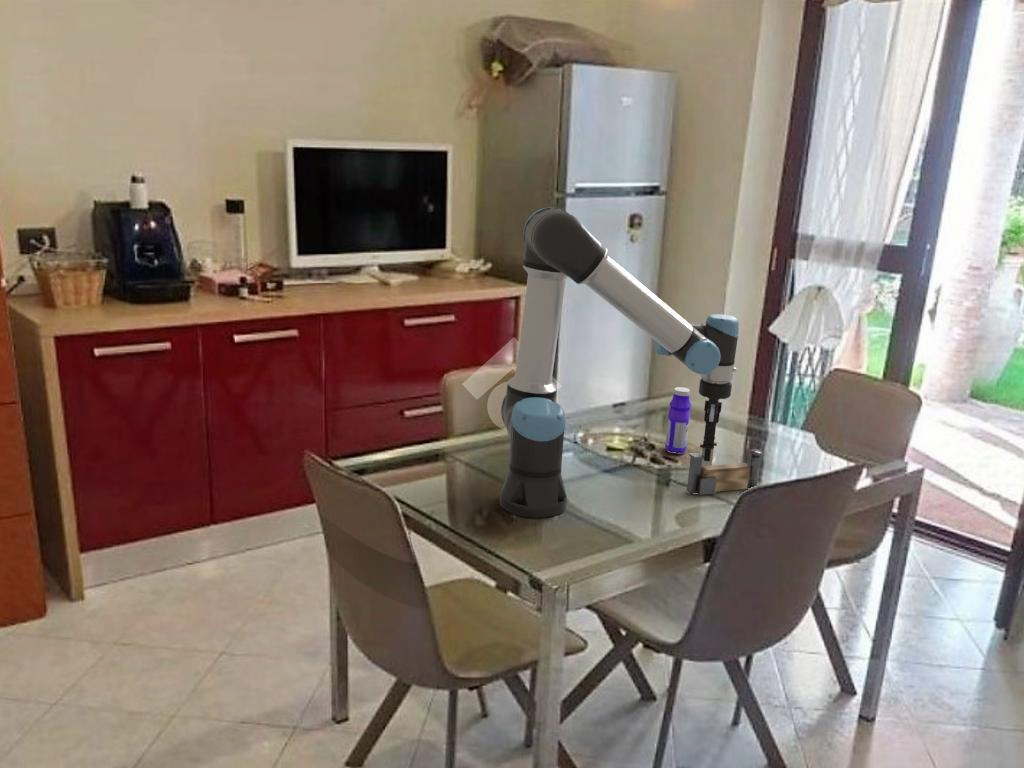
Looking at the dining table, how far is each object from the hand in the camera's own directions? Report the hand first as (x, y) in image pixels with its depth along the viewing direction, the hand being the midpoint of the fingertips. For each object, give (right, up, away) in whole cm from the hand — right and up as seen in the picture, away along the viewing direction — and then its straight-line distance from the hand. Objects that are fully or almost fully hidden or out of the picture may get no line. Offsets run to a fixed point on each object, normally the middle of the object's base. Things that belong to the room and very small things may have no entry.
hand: (705, 471), depth 219 cm
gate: (+3, -4, -5) cm, 7 cm away
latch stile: (-3, -4, -7) cm, 9 cm away
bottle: (-4, +3, +21) cm, 21 cm away
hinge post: (+11, -4, -2) cm, 12 cm away
